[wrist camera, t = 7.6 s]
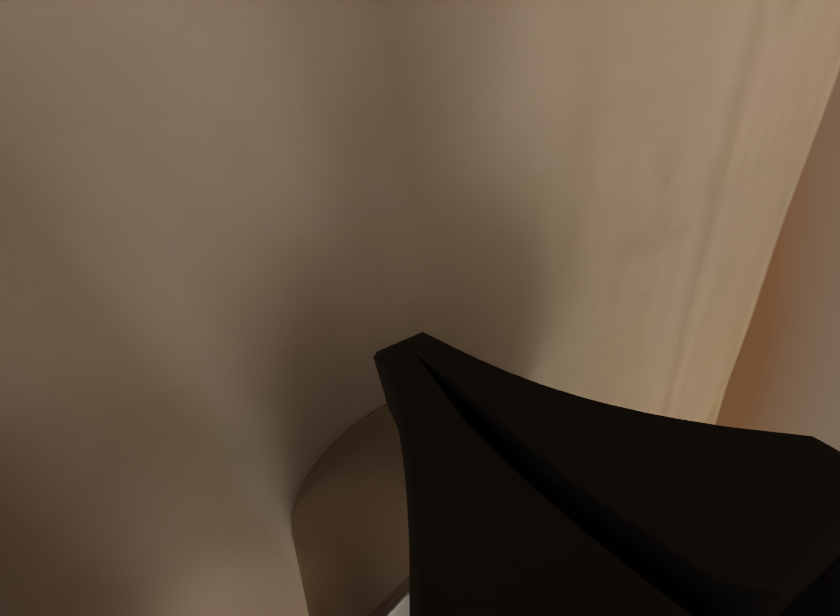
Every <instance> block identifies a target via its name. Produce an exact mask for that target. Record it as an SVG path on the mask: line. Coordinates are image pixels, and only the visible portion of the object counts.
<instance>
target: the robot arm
mask: <svg viewBox="0 0 840 616" xmlns="http://www.w3.org/2000/svg"><path fill="white" fill-rule="evenodd" d="M374 360H375V364H376V367H377V371H378V374H379V377H380V381H381V384H382V388H383V391H384V394H385V398H386V401H387V404H388V408H389V411H390V413H391V415H392V417H393V419H394V421H395V424H396V426H397V428H398V431H399V436H400V442H401V448H402V456H403V464H404V473H405V484H406V496H407V512H408V531H409V616H840V451H838V450H836V449H834V448H833V447H831V446H829V445H827V444H825V443H824V442H822V441H820V440H818V439H816V438H814V437H812V436H804V435H795V434H786V433H777V432H768V431H760V430H751V429H742V428H733V427H725V426H718V425H712V424H706V423H700V422H694V421H688V420H681V419H675V418H670V417H665V416H660V415H654V414H649V413H644V412H640V411H636V410H631V409H627V408H622V407H618V406H614V405H609V404H605V403H602V402H598V401H594V400H590V399H586V398H583V397H580V396H576V395H573V394H570V393H566V392H563V391H560V390H556V389H553V388H550V387H547V386H544V385H541V384H538V383H536V382H533V381H530V380H528V379H525V378H522V377H520V376H517V375H514V374H512V373H509V372H507V371H504V370H502V369H500V368H497V367H495V366H493V365H491V364H488V363H486V362H484V361H482V360H479V359H477V358H475V357H473V356H471V355H468V354H466V353H464V352H462V351H460V350H458V349H456V348H454V347H452V346H450V345H448V344H446V343H444V342H442V341H440V340H438V339H436V338H434V337H432V336H430V335H427V334H425V333H423V332H422V333H419V334H417V335H415V336H413V337H410V338H408V339H406V340H403V341H401V342H399V343H396V344H394V345H392V346H389V347H387V348H385V349H382V350H380V351H378V352H377V353H376V354H375V356H374Z"/></svg>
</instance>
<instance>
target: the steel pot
mask: <svg viewBox="0 0 840 616" xmlns="http://www.w3.org/2000/svg"><path fill="white" fill-rule="evenodd" d="M292 535H293V540H294V545H295V550H296V555H297V560H298V565H299V570H300V575H301V580H302V585H303V590H304V595H305V600H306V605H307V610H308V614H309V616H409V531H408V512H407V496H406V484H405V473H404V464H403V456H402V448H401V442H400V436H399V431H398V428H397V426H396V424H395V421H394V419H393V417H392V415H391V413H390V411H389V408H388V404H386V405H385V406H383V407H381V408H379V409H377V410H376V411H374V412H373V413H371V414H370V415H368V416H367V417H365V418H364V419H362V420H361V421H359V422H358V423H357V424H356V425H354V426H353V427H352V428H351V429H350V430H348V431H347V432H346V433H345V434H343V435H342V436H341V437H340V438H339V439H338V440H337V441H336V442H335V443H334V444H333V445H332V446H331V447H330V448H329V449H328V451H327V452H326V453H325V454H324V455H323V457H322V458H321V459H320V460H319V461H318V463H317V464H316V466H315V467H314V469H313V470H312V472H311V473H310V475H309V476H308V478H307V479H306V481H305V483H304V485H303V487H302V489H301V491H300V493H299V496H298V499H297V502H296V505H295V508H294V514H293V520H292Z"/></svg>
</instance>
